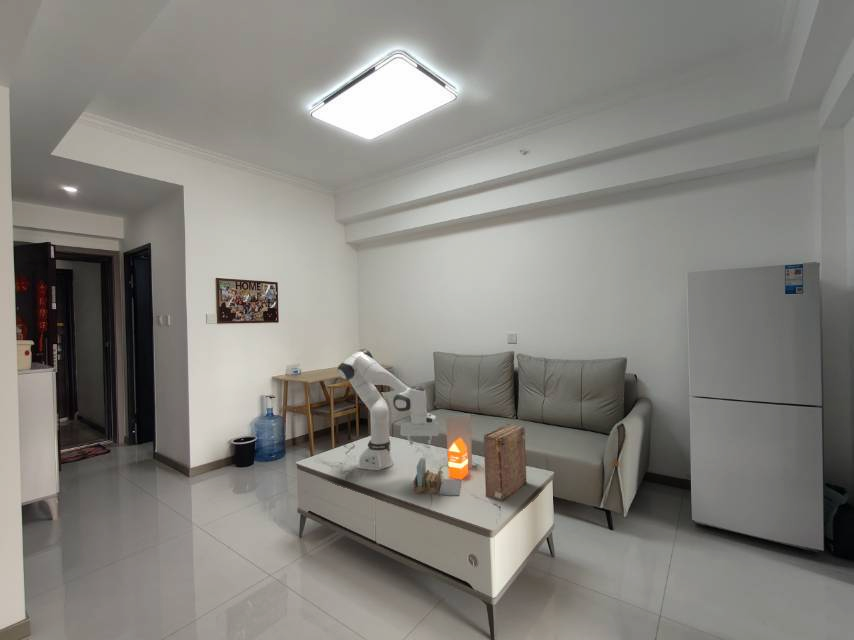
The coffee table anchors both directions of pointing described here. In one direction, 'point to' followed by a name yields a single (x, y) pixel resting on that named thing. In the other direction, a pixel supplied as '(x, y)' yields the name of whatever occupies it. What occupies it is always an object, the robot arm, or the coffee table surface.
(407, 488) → the coffee table surface
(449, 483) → the mat
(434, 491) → the rack
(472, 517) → the coffee table surface
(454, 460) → the orange juice
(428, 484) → the offcut
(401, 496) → the coffee table surface
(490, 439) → the book
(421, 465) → the light blue slab
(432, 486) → the offcut
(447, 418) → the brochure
